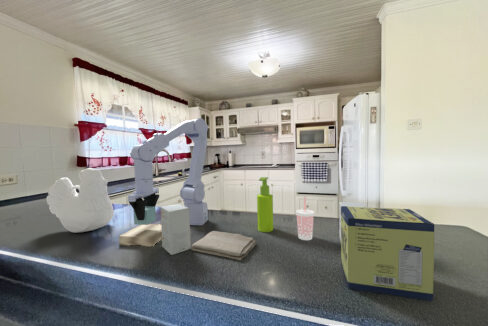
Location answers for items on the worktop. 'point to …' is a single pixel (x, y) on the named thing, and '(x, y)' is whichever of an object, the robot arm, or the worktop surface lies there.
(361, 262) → the protein box
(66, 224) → the decorative rooster
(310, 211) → the beverage cup
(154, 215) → the teal block
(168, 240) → the small box
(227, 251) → the washcloth
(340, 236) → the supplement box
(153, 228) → the birch plinth
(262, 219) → the soap dispenser
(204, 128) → the robot arm
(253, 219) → the worktop surface
